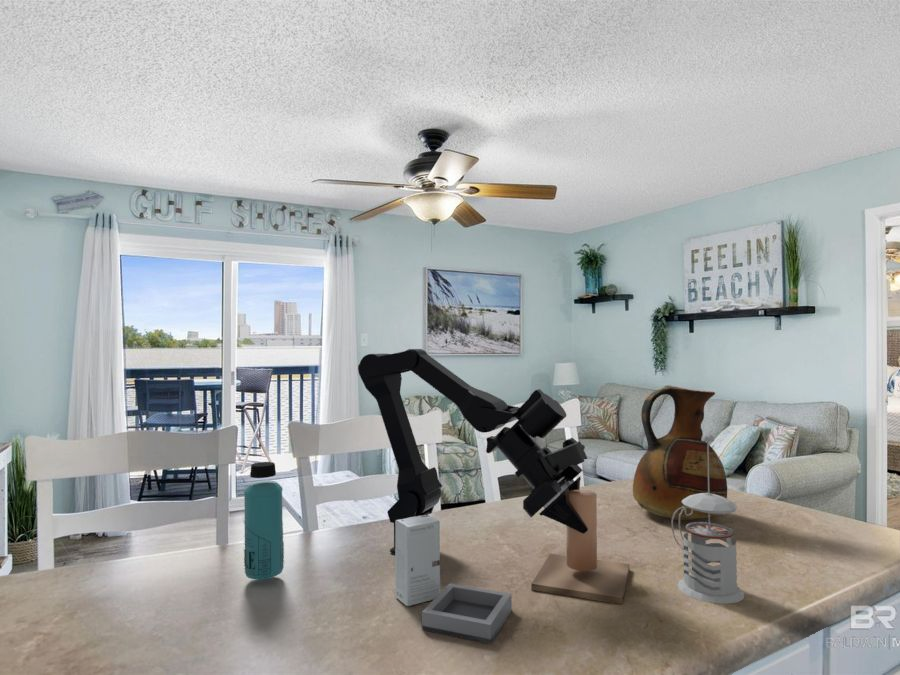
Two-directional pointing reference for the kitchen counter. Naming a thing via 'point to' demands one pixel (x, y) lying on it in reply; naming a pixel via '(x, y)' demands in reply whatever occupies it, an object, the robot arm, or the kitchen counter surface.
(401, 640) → the kitchen counter surface
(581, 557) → the terracotta canister
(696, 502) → the french press
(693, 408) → the ceramic pitcher
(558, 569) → the mat
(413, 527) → the skincare box
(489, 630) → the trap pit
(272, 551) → the beverage bottle
